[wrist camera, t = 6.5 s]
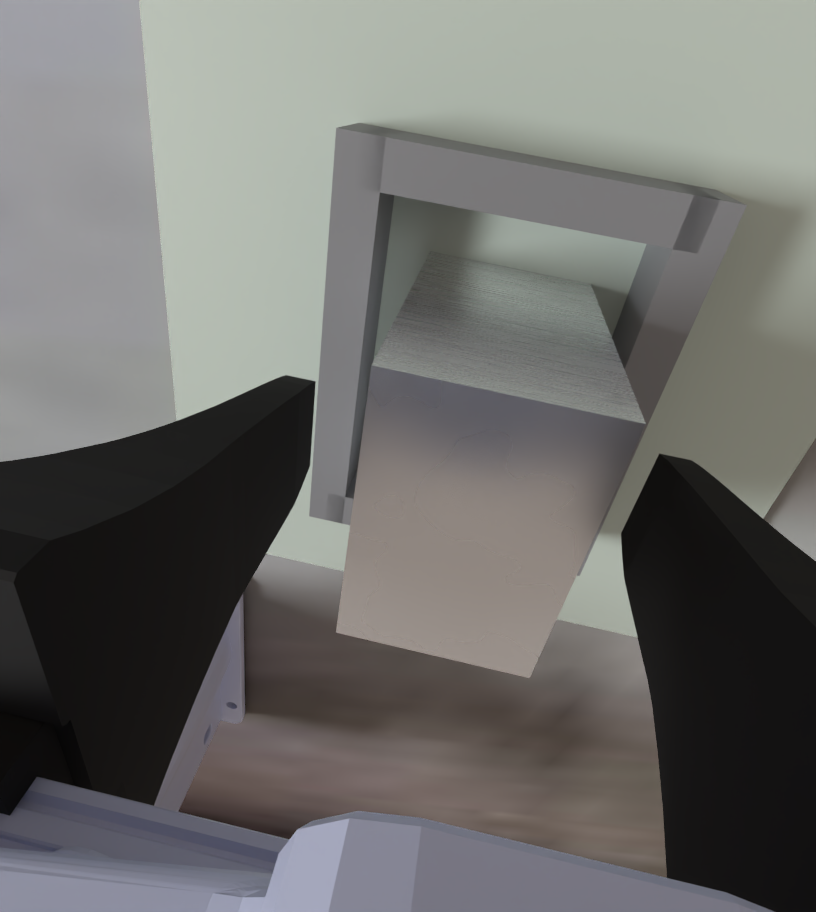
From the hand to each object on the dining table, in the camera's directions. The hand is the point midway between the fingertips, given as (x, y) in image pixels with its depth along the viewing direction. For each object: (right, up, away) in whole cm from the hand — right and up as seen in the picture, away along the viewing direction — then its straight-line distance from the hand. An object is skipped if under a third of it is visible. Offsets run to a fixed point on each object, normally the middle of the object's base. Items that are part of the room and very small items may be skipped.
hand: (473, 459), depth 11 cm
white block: (+1, +2, +4) cm, 5 cm away
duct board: (+1, +3, +4) cm, 5 cm away
